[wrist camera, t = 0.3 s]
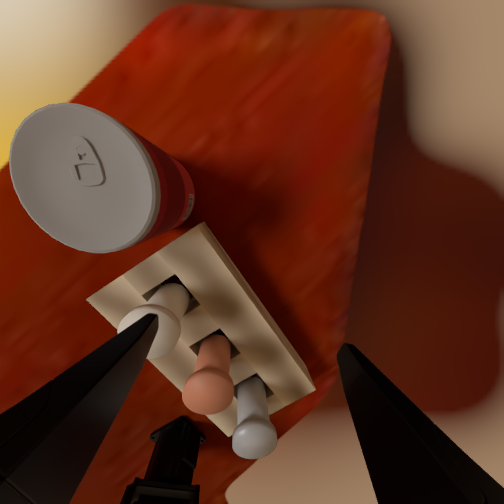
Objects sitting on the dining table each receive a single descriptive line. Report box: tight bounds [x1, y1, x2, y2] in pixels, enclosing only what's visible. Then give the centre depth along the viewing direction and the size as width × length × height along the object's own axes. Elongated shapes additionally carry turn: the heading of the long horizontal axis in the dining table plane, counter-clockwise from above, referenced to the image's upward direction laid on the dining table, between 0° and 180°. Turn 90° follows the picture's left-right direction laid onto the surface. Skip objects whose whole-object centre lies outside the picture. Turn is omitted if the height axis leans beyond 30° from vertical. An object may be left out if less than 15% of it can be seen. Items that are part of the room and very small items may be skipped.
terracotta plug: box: [182, 334, 234, 415], centre depth 20 cm, size 5×5×6 cm
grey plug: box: [232, 377, 277, 459], centre depth 22 cm, size 5×5×6 cm
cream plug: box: [118, 283, 190, 359], centre depth 18 cm, size 5×5×6 cm
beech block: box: [86, 222, 316, 437], centre depth 24 cm, size 14×26×4 cm, turn 32°
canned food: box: [9, 103, 195, 253], centre depth 16 cm, size 8×8×11 cm
